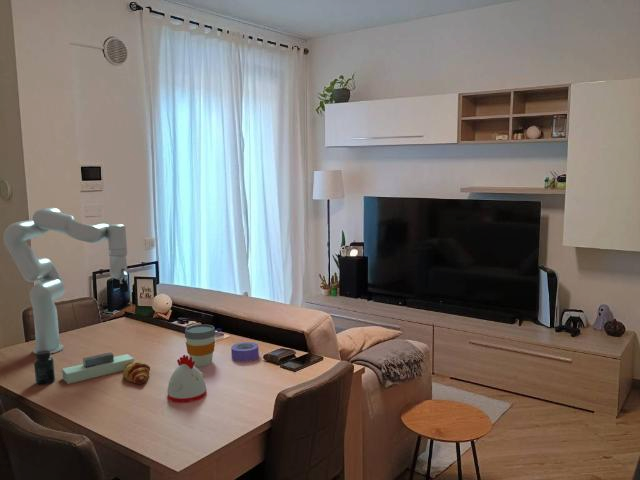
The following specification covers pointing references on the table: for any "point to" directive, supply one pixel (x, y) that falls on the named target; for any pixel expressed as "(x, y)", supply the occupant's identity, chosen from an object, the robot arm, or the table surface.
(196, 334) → the reusable coffee cup
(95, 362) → the clip
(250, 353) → the tape roll
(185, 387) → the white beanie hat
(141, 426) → the table surface
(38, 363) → the supplement bottle
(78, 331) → the table surface
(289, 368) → the table surface
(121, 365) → the rail
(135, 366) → the croissant
